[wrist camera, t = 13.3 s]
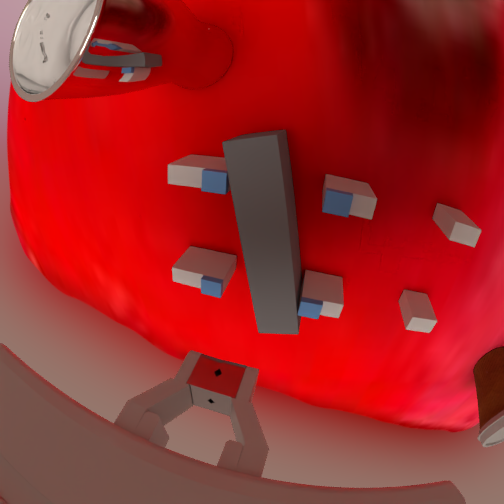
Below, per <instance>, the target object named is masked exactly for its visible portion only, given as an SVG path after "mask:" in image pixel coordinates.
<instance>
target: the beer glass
mask: <svg viewBox="0 0 504 504" xmlns="http://www.w3.org/2000/svg"><path fill="white" fill-rule="evenodd" d="M232 57H233V46H232V42H231V40H230V38H229V36H228V35H227V34H226V32H225V31H223V30H222V29H221V28H219V27H217V26H215V25H212V24H209V23H204V22H200V21H199V20H198V19H197V18H196V17H195V15H194V14H193V13H192V12H191V10H190V9H189V8H188V7H187V6H186V5H185V4H184V2H183V1H182V0H29V1H28V2H27V4H26V5H25V7H24V9H23V11H22V13H21V15H20V17H19V20H18V22H17V25H16V28H15V31H14V34H13V38H12V42H11V48H10V56H9V68H10V77H11V81H12V84H13V87H14V89H15V91H16V92H17V94H18V95H19V96H20V97H21V98H22V99H24V100H26V101H29V102H38V101H41V100H50V99H73V98H91V97H104V96H112V95H120V94H125V93H130V92H134V91H139V90H143V89H147V88H150V87H154V86H158V85H162V84H166V83H174V84H176V85H177V86H180V87H182V88H186V89H201V88H205V87H207V86H210V85H212V84H214V83H215V82H217V81H218V80H219V79H220V78H221V77H222V76H223V75H224V74H225V73H226V71H227V70H228V68H229V66H230V64H231V61H232Z"/></svg>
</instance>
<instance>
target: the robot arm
mask: <svg viewBox="0 0 504 504" xmlns="http://www.w3.org/2000/svg"><path fill="white" fill-rule="evenodd" d="M258 373H259V369H256V368H252V367H247V366H245V365H241V364H237V363H233V362H229V361H225V360H221V359H217V358H214V357H211V356H207V355H204V354H202V353H198V352H195V351H192V350H191V351H190V352H189V353H188V354H187V356H186V358H185V360H184V362H183V363H182V366H181V367H180V369H179V371H178V373H177V374H176V377H175V378H174V379H172V378H170V379H168V380H166V381H165V382H163V383H161V384H159V385H157V386H155V387H153V388H151V389H149V390H147V391H146V392H144V393H142V394H140V395H138V396H136V397H134V398H132V399H130V400H128V401H127V403H126V404H125V406H124V408H123V409H122V411H121V413H120V414H119V416H118V418H117V419H116V421H115V422H114V423H112V422H110V421H108V420H106V419H104V418H103V417H101V416H99V415H97V414H96V413H94V412H92V411H91V410H89V409H87V408H86V407H84V406H83V405H81V404H80V403H78V402H76V401H75V400H73V399H72V398H70V397H69V396H68V395H66V394H65V393H63V392H62V391H60V390H59V389H58V388H56V387H55V386H53V385H52V384H51V383H49V382H48V381H47V380H45V379H44V378H43V377H41V376H40V375H39V374H38V373H36V372H35V371H34V370H32V369H31V368H30V367H29V366H28V365H26V364H25V363H24V362H23V361H22V360H21V359H20V358H19V357H17V356H16V355H15V354H14V353H13V352H12V351H11V350H10V349H9V348H8V347H7V346H5V345H4V344H2V343H0V504H466V502H465V499H464V497H463V495H462V494H461V493H460V491H459V490H458V489H457V487H456V486H455V485H454V484H453V483H452V482H451V481H441V482H434V483H428V484H420V485H411V486H402V487H401V486H400V487H385V488H341V487H325V486H314V485H305V484H297V483H290V482H283V481H277V480H271V479H267V478H262V477H261V475H262V472H263V468H264V465H265V461H266V458H267V454H268V450H269V448H268V445H267V443H266V440H265V437H264V434H263V432H262V429H261V426H260V424H259V421H258V418H257V415H256V412H255V410H254V407H253V404H252V403H251V401H252V397H253V395H254V390H255V387H256V383H257V378H258ZM193 405H196V406H199V407H203V408H206V409H209V410H213V411H216V412H219V413H222V414H225V415H228V416H230V419H231V422H232V426H233V430H234V433H235V437H236V441H237V442H236V441H232V440H229V441H227V442H226V444H225V447H224V449H223V452H222V454H221V457H220V459H219V462H218V464H217V466H214V465H211V464H208V463H204V462H202V461H199V460H195V459H193V458H190V457H187V456H184V455H182V454H179V453H176V452H174V451H171V450H169V449H166V448H165V446H166V444H167V442H168V440H169V436H168V434H167V432H166V430H165V428H164V425H165V424H167V423H168V422H170V421H172V420H173V419H174V418H176V417H177V416H179V415H180V414H182V413H183V412H185V411H186V410H188V409H189V408H190V407H192V406H193Z"/></svg>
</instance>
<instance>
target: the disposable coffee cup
mask: <svg viewBox="0 0 504 504" xmlns="http://www.w3.org/2000/svg"><path fill="white" fill-rule="evenodd" d="M473 372H474V377H475V384H476V391H477V399H478V409H479V421H480V431H479V436H478V440H479V441H481V443H482V445H483V447H489V446H493V445H496V444H498V443H501V442H503V441H504V347H500V348H496V349H494V350H492V351H490V352H489V353H487V354H486V355H485V356H483V357H482V358H481V359H480V360H479V361H478V363H477V364H476V365H475V367H474V371H473Z"/></svg>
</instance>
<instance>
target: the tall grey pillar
mask: <svg viewBox="0 0 504 504" xmlns="http://www.w3.org/2000/svg"><path fill="white" fill-rule="evenodd" d="M222 144H223V150H224V155H225V161H226V166H227V171H228V177H229V182H230V187H231V193H232V198H233V203H234V209H235V214H236V219H237V224H238V230H239V235H240V240H241V245H242V251H243V256H244V261H245V266H246V271H247V276H248V281H249V286H250V292H251V297H252V302H253V307H254V312H255V317H256V322H257V327H258V332H259V333H275V334H298V333H299V327H300V320H301V316H299V315H298V308H299V302H300V296H301V289H302V273H301V260H300V248H299V237H298V226H297V216H296V207H295V197H294V188H293V180H292V172H291V163H290V156H289V148H288V141H287V134H286V130H276V131H268V132H260V133H252V134H245V135H240V136H238V137H235V138H232V139H229V140H227V141H224V142H222Z"/></svg>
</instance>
